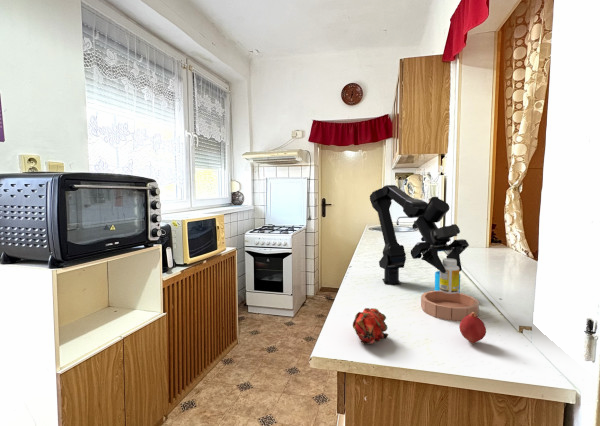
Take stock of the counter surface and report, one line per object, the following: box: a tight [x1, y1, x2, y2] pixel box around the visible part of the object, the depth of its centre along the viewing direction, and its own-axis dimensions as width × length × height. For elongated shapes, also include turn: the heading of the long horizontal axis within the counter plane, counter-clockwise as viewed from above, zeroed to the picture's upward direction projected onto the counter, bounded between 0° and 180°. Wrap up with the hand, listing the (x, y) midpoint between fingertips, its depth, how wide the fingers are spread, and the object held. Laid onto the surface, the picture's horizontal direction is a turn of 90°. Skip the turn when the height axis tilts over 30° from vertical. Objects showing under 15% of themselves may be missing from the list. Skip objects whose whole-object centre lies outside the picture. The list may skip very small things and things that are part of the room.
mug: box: [434, 270, 461, 293], centre depth 115 cm, size 12×8×8 cm
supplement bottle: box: [440, 257, 460, 294], centre depth 99 cm, size 6×6×10 cm
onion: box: [459, 312, 487, 345], centre depth 79 cm, size 6×6×8 cm
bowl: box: [420, 290, 480, 322], centre depth 100 cm, size 16×16×4 cm
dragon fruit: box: [352, 307, 389, 346], centre depth 82 cm, size 8×8×12 cm
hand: (452, 271), depth 98 cm, fingers closed on supplement bottle, 6 cm apart
